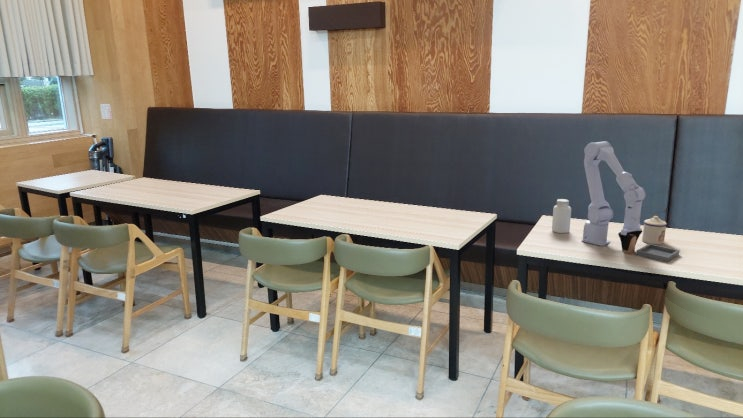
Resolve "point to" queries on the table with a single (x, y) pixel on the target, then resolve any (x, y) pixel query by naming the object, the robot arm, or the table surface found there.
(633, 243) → the terracotta cup
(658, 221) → the teacup with lid
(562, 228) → the pill bottle
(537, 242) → the table surface
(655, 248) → the charcoal tray
